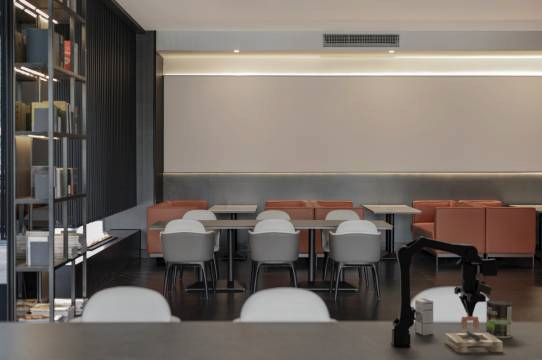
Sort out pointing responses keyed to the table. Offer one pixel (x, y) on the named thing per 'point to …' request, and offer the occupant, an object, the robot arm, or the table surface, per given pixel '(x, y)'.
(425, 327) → the syrup box
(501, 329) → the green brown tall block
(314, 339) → the table surface
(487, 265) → the robot arm
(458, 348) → the frame with crossbar
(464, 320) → the tee shaped peg
